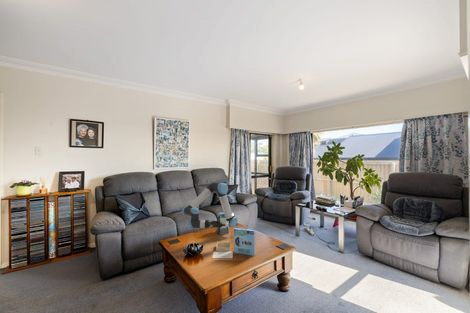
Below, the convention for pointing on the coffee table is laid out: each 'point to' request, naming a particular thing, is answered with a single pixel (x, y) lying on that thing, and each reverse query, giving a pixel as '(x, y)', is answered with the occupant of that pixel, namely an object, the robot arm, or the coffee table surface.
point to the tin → (223, 228)
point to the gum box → (244, 241)
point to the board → (223, 254)
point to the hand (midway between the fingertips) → (228, 223)
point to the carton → (223, 246)
